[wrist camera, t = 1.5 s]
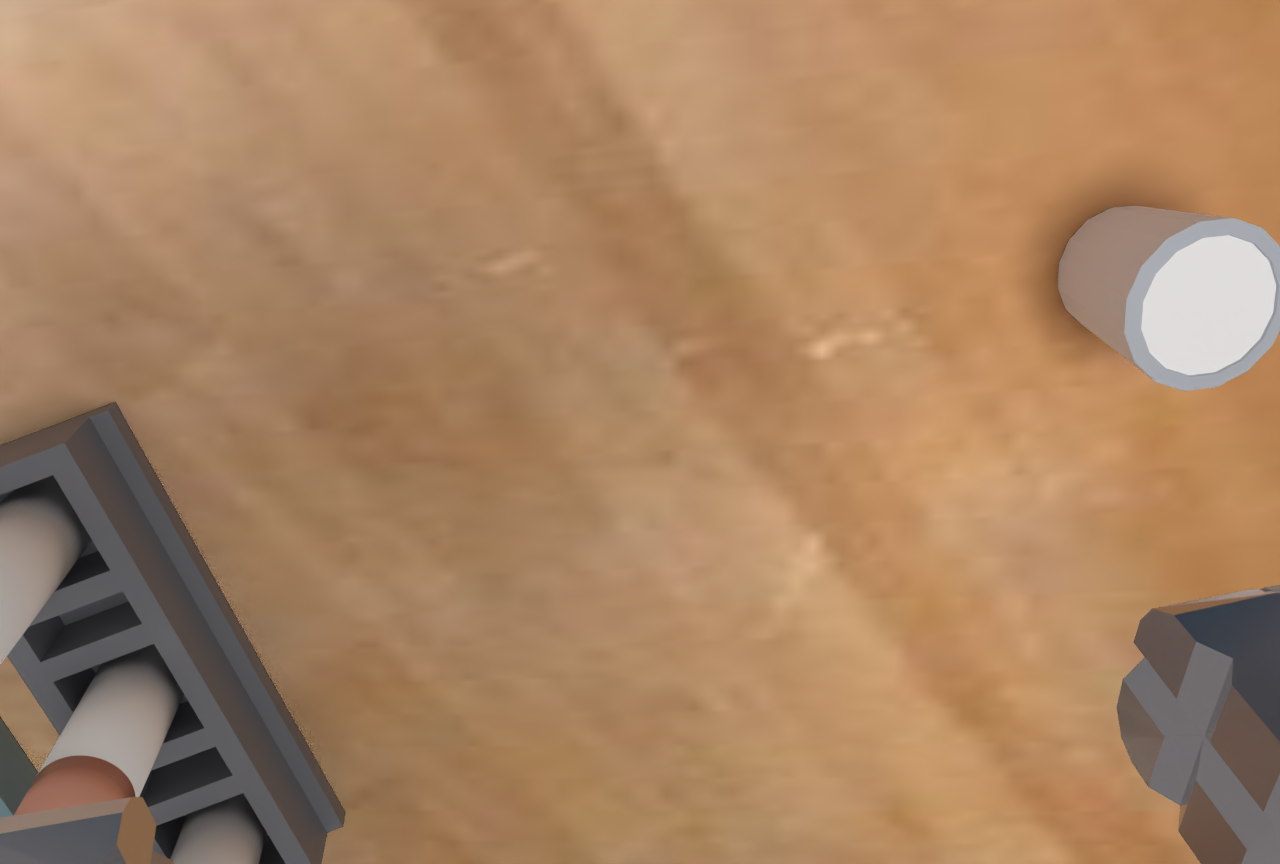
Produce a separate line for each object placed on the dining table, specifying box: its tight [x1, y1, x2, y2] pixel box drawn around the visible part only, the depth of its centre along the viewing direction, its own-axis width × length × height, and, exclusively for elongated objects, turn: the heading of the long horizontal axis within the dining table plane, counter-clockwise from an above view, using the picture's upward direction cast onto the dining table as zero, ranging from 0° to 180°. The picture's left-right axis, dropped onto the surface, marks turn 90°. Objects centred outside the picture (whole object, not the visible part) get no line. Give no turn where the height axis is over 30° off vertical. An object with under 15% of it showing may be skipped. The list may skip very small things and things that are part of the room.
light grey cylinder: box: [1058, 205, 1280, 391], centre depth 48 cm, size 7×7×7 cm
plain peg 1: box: [0, 475, 92, 665], centre depth 43 cm, size 4×4×11 cm
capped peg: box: [14, 644, 184, 816], centre depth 46 cm, size 4×4×11 cm
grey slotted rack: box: [0, 402, 345, 864], centre depth 50 cm, size 22×8×4 cm, turn 19°
